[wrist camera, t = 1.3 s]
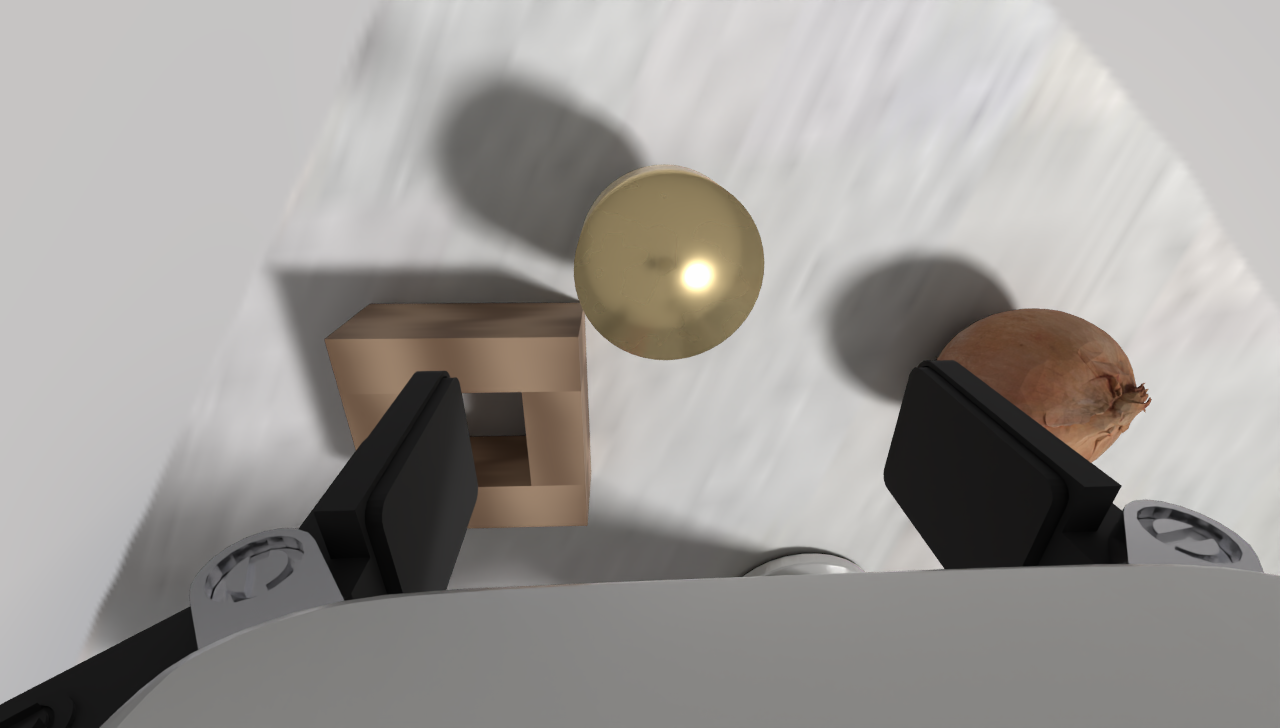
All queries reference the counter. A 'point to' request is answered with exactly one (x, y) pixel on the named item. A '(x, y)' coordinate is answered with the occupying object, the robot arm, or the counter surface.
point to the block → (485, 362)
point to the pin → (667, 263)
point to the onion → (1055, 374)
